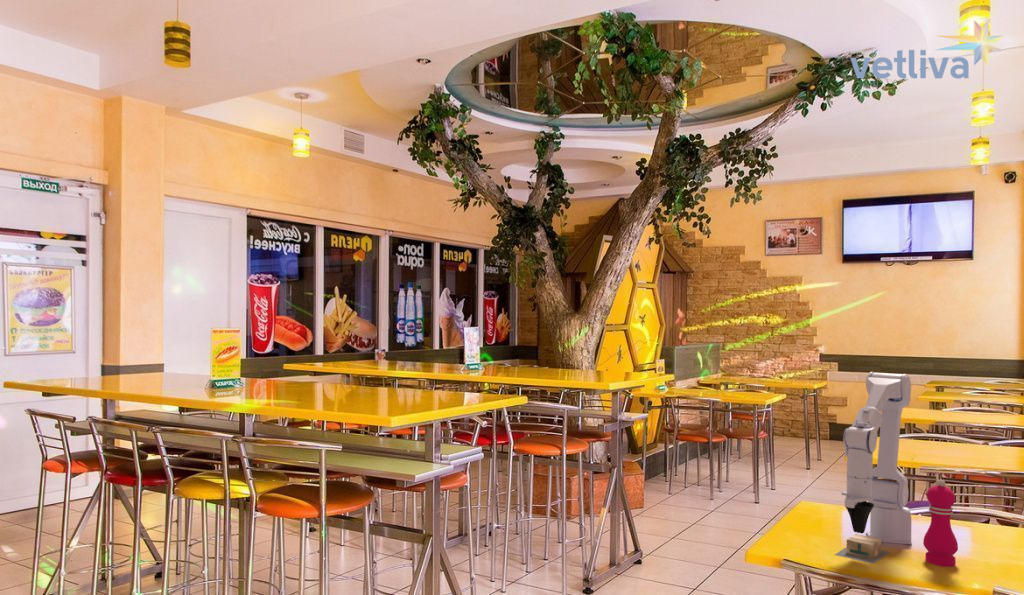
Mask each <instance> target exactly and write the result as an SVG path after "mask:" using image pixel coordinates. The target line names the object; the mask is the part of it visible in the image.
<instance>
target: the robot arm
mask: <svg viewBox="0 0 1024 595" xmlns="http://www.w3.org/2000/svg"><path fill="white" fill-rule="evenodd" d="M911 382H912V380H911V378H910V376H909V375H908V374H907V373H903V374H902V373H889V372H887V373H886V372H874V371H870V372H869V373H868V374H867V376H866V380H865V389H866V391H867V395H868V397H867V400H866V403H865V406H864V407H861V408H860V409H859V410H858V412H857V415H856V416H855V418H854V421H853V422H852V425H851V426H849V427H848V428H845V429H844V432H843V438H842V442H843V443H842V444H843V447H844V455H845V457H846V490H845V491H841V495H842V496H845V498H844V507H845V509H846V510H847V513H848V515H849V518H850V522H851V526H852V530H853V533H856V534H864V533H865V534H866V536H869V537H873V538H878V539H882V541H881V543H888V544H889V543H890V544H900V545H913V542H912V514H911V510H910V508H909V507H906V506H907V504H908V500H909V486H908V485H909V484H908V483H909V480H908V478H907V477H906V475H904V474H903V473H902V472H901V471H899V469H898V459H899V447H900V434H901V433H900V432H901V420H902V413H903V409H904V408H906V407H908V406H910V402H911V393H912V392H911V391H912V384H911ZM879 429H880V430H879ZM878 432H879V437H878ZM878 438H879V441H878ZM877 441H878V444H877ZM877 445H878V450H877V451H878V452H877V462H876V463H877V464H876V466H875V467H873V465H874V464H873V462H874V461H873V458H874V456H873V455H874V454H873V453H874V452H875V450H876V448H877ZM879 478H881V479H879ZM869 517H870V519H869ZM868 520H870V523H869V524H870V527H869V528H870V530H869V531H866V527H867V525H868V524H867V522H868Z"/></svg>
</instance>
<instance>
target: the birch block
mask: <svg viewBox="0 0 1024 595" xmlns="http://www.w3.org/2000/svg"><path fill="white" fill-rule="evenodd" d="M881 541H882V539H878V538H873V537H869V536H868V535H863V534H860V533H855V534H854V535H851V537H848V538H847V539H846V547H847V553H851V554H855V555H859V556H864V557H868V558H874V557H875V556H876V555H878V554H879V553H881V550H882V542H881Z"/></svg>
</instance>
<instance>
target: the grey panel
mask: <svg viewBox="0 0 1024 595" xmlns="http://www.w3.org/2000/svg"><path fill="white" fill-rule="evenodd" d="M889 553H890V551H888V550H884V549H881V553H879V554H878V555H876V556H875V557H874V558H868V557H864V556H859V555H855V554H851V553H847V546H846V547H844V548H842V549H841V550H840V551H838V552H836V553H835V554H834V556H838V557H842V558H845V559H846V558H847V559H851V560H854V561H858V562H863V563H868V564H872V565H874V564H875V563H877V562H879V560H881V559H883V558H884V557H885V556H887V555H888V554H889Z"/></svg>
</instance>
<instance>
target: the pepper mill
mask: <svg viewBox="0 0 1024 595" xmlns="http://www.w3.org/2000/svg"><path fill="white" fill-rule="evenodd" d="M926 499H927V501H928V502H929V503H930V504H929V505H928V507H929V508H928V511H929V512H930V517H931V518H930V525H929V527H928V529H927V531H926V532H925V534H924V536H923V541H922V542H923V547H924V548H925V549H926V552H925V562H927V563H929V564H932V565H934V566H939V567H940V566H941V567H948V568H949V567H950V568H951V567H955V566H956V563H957V562H956V557H955V556H954V555H955V554H956V553H957V552H958V550H959V549H958V548H959V546H958V545H959V544H958V541H957V538H956V536H955V533H954V531H953V528H952V525H951V516H952V515H953V514H954V512H953V510H954V509H953V507H952V506H953V505H954V504H955V502H956V496H955V492H954V491H953V489H951V488H949V487H948V486H946V482H945V480H944V479H937V481H936V485H933V486H931V487H929V488H928V490H927V492H926Z"/></svg>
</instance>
